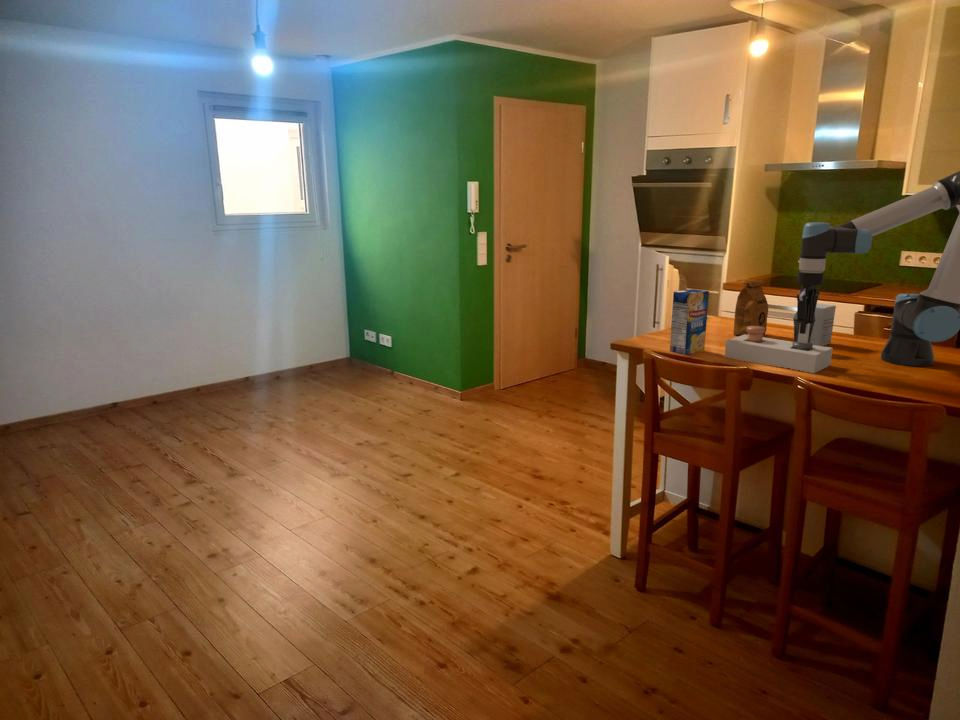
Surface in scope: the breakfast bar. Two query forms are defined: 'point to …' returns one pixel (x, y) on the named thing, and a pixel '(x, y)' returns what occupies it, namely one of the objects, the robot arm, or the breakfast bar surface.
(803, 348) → the charcoal plunger
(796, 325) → the beverage cup
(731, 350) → the plunger panel
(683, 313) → the beverage box
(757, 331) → the terracotta plunger
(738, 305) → the coffee package
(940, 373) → the breakfast bar surface
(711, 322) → the breakfast bar surface
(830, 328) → the supplement box
